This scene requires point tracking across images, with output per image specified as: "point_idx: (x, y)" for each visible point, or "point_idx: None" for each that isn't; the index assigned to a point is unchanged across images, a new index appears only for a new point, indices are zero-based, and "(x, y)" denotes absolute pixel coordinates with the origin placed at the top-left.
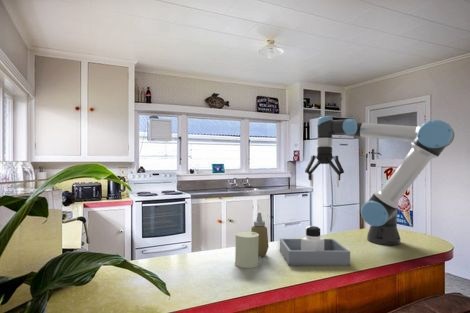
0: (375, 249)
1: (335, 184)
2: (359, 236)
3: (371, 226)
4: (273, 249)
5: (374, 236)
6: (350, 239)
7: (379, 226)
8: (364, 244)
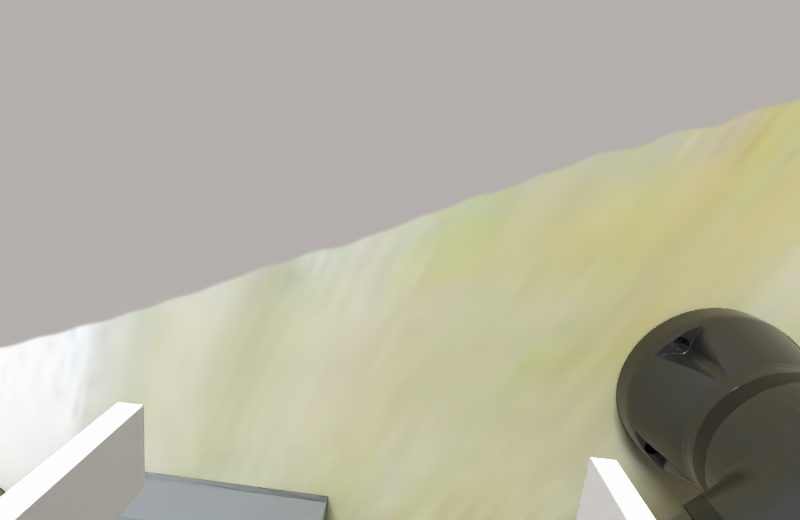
0: (548, 501)
1: (600, 495)
2: (635, 278)
3: (685, 416)
4: (56, 440)
5: (639, 433)
6: (534, 332)
7: (699, 485)
8: (550, 426)
